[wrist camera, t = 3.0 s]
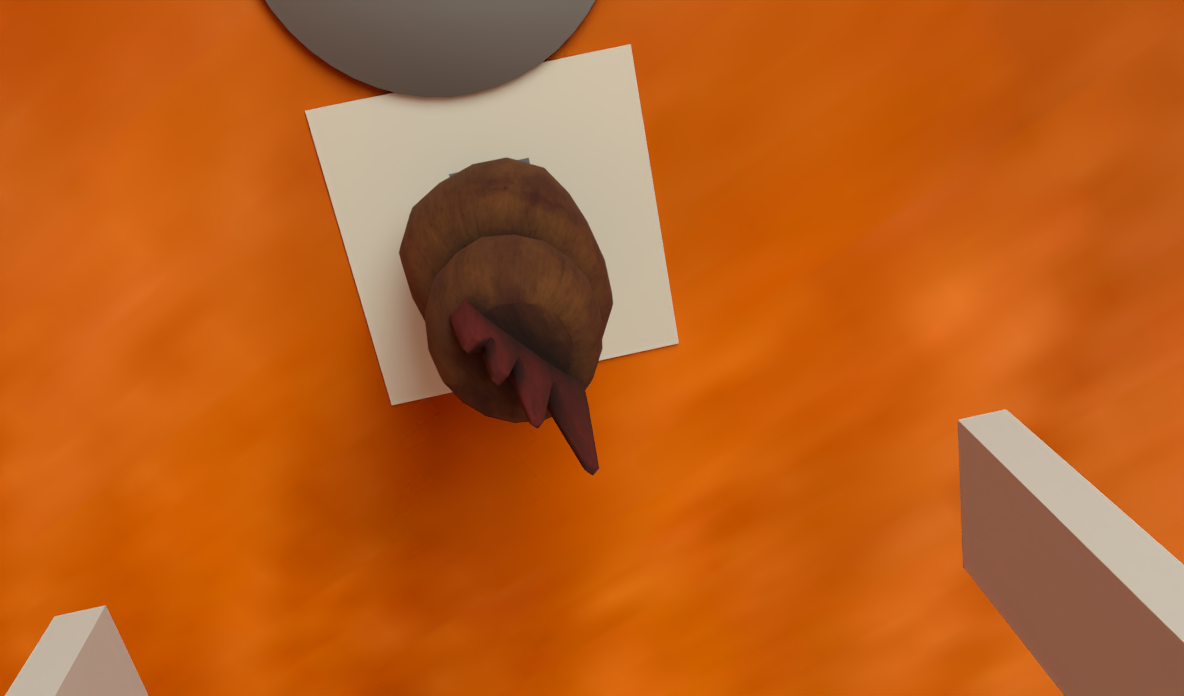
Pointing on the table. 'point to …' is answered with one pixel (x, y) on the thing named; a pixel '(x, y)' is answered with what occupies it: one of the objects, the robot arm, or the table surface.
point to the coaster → (432, 39)
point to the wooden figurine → (511, 295)
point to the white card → (483, 133)
